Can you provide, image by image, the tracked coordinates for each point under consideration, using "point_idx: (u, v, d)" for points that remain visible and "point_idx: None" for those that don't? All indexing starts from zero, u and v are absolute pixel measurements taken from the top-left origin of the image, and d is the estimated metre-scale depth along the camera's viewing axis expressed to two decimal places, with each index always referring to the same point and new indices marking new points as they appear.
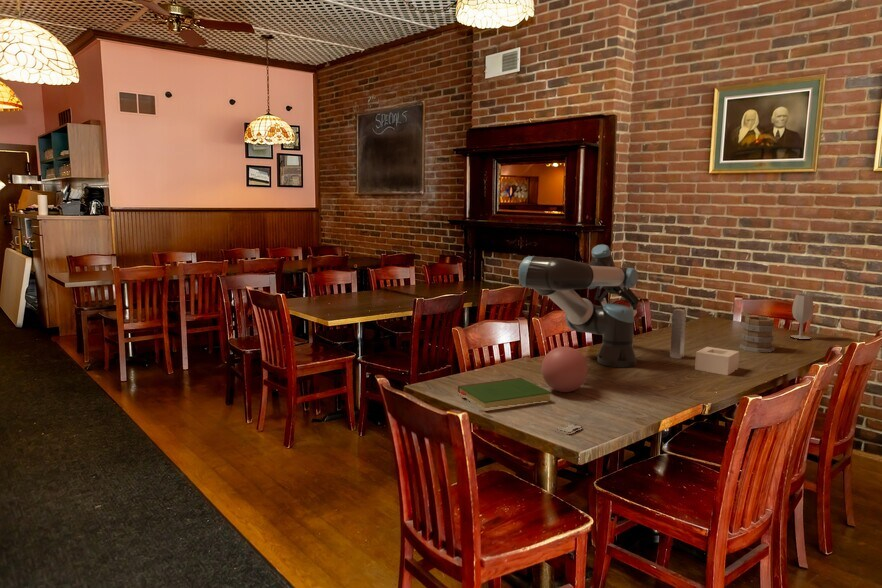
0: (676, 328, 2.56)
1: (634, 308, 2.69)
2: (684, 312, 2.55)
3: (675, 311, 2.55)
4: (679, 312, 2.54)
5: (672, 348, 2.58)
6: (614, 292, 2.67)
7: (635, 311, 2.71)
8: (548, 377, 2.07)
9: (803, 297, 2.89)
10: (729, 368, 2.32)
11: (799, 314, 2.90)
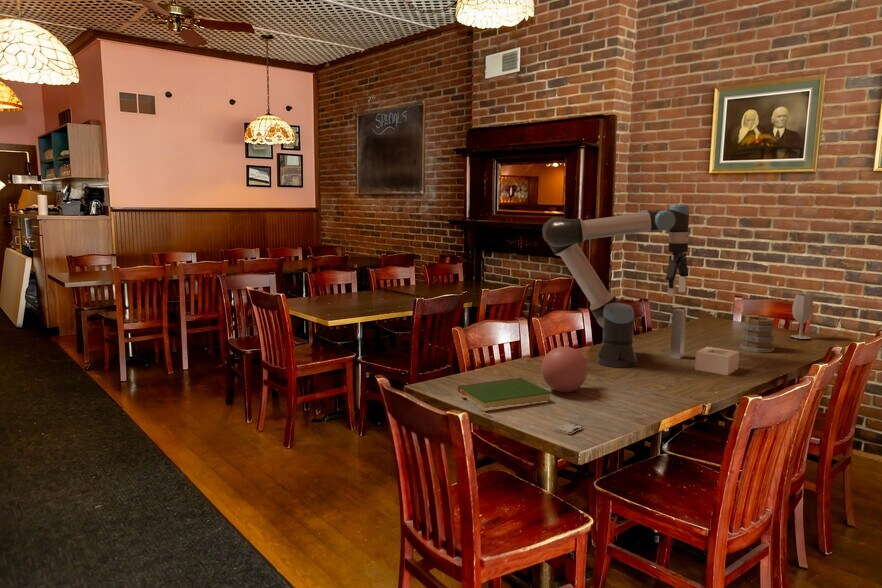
0: (676, 328, 2.56)
1: None
2: (684, 312, 2.55)
3: (675, 311, 2.55)
4: (679, 312, 2.54)
5: (672, 348, 2.58)
6: None
7: (671, 292, 2.51)
8: (548, 377, 2.07)
9: (803, 297, 2.89)
10: (729, 368, 2.32)
11: (799, 314, 2.90)
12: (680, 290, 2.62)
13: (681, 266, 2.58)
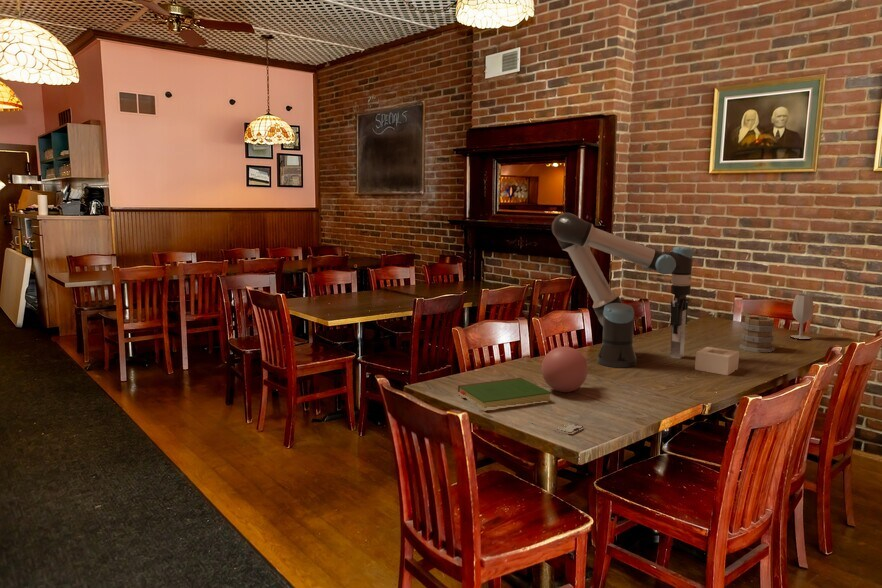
0: None
1: None
2: (684, 312, 2.55)
3: None
4: None
5: (672, 348, 2.58)
6: None
7: (676, 338, 2.55)
8: (548, 377, 2.07)
9: (803, 297, 2.89)
10: (729, 368, 2.32)
11: (799, 314, 2.90)
12: None
13: None
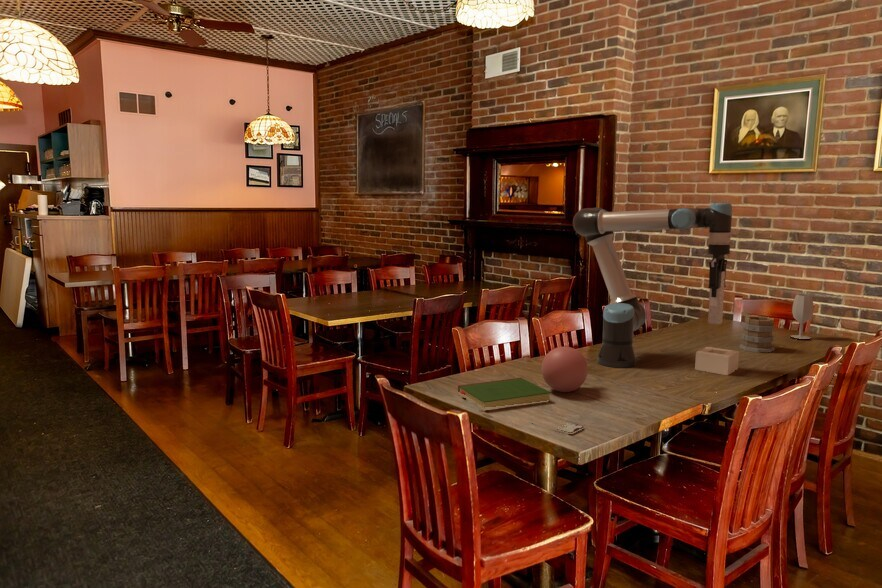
0: None
1: None
2: (723, 273, 2.36)
3: None
4: None
5: (710, 313, 2.38)
6: None
7: (714, 301, 2.36)
8: (548, 377, 2.07)
9: (803, 297, 2.89)
10: (729, 368, 2.32)
11: (799, 314, 2.90)
12: None
13: None
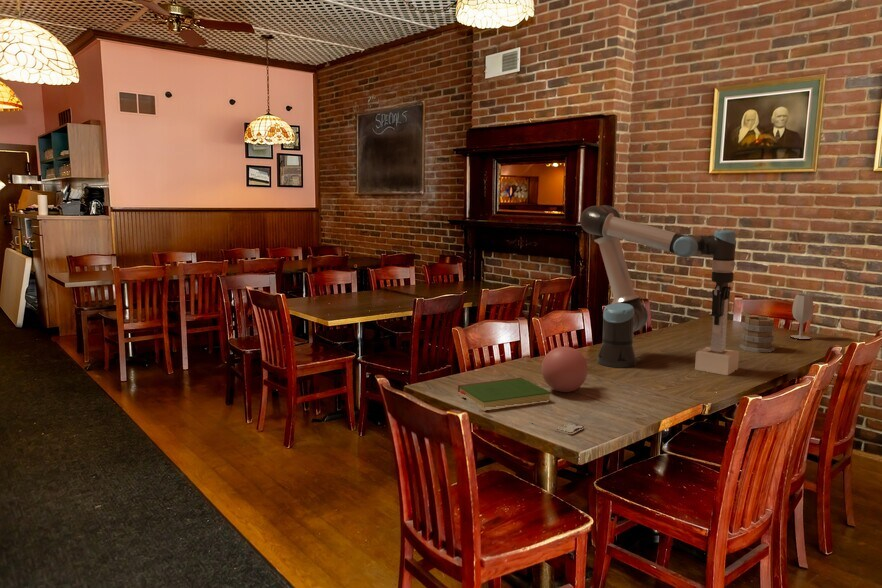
0: None
1: None
2: (726, 301, 2.35)
3: None
4: None
5: (713, 340, 2.37)
6: None
7: (717, 329, 2.35)
8: (548, 377, 2.07)
9: (803, 297, 2.89)
10: (729, 368, 2.32)
11: (799, 314, 2.90)
12: None
13: None
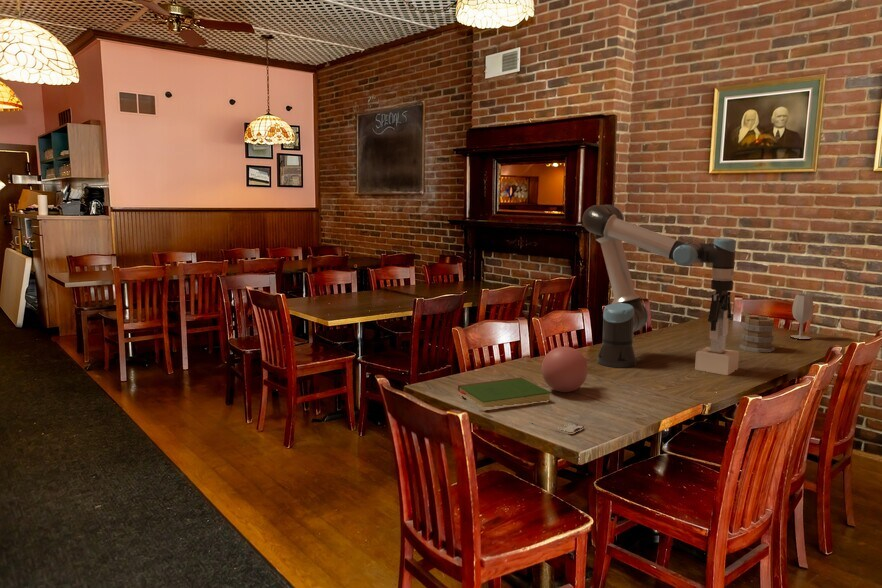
0: None
1: None
2: (725, 313, 2.35)
3: None
4: (720, 313, 2.34)
5: (712, 351, 2.38)
6: None
7: (714, 335, 2.33)
8: (548, 377, 2.07)
9: (803, 297, 2.89)
10: (729, 368, 2.32)
11: (799, 314, 2.90)
12: None
13: (724, 305, 2.38)
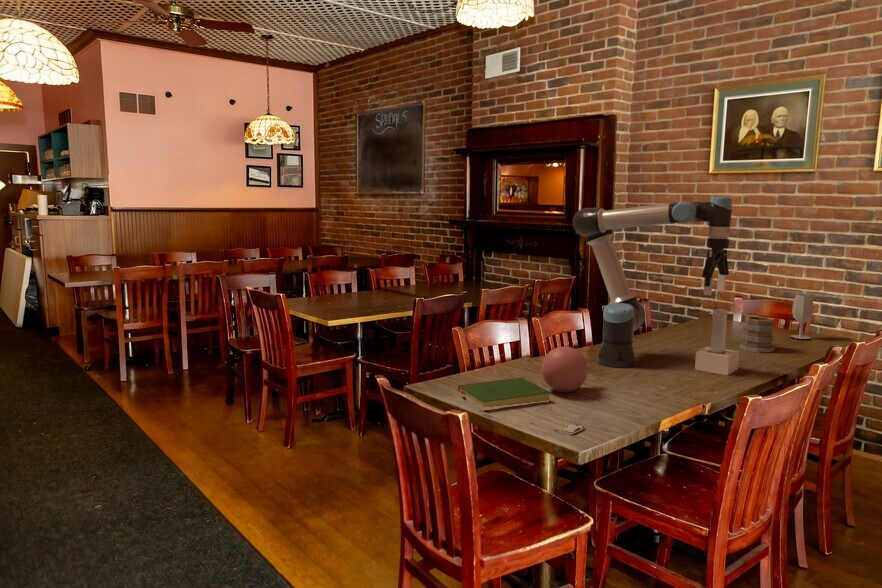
0: (717, 330, 2.36)
1: None
2: (725, 313, 2.35)
3: (716, 311, 2.35)
4: (720, 313, 2.34)
5: (712, 352, 2.38)
6: None
7: (708, 291, 2.33)
8: (548, 377, 2.07)
9: (803, 297, 2.89)
10: (729, 368, 2.32)
11: (799, 314, 2.90)
12: (719, 289, 2.44)
13: (721, 264, 2.39)
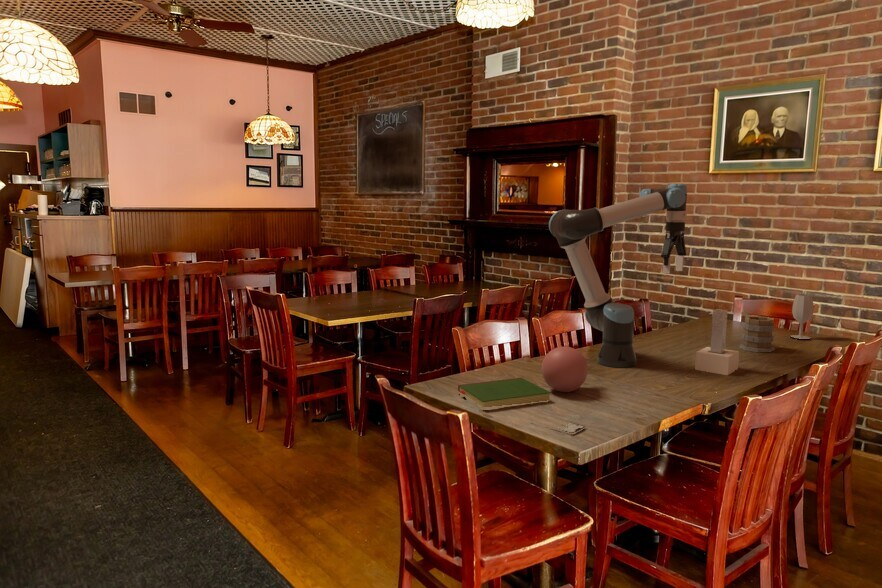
0: (717, 330, 2.36)
1: None
2: (725, 313, 2.35)
3: (716, 311, 2.35)
4: (720, 313, 2.34)
5: (712, 352, 2.38)
6: None
7: (666, 270, 2.57)
8: (548, 377, 2.07)
9: (803, 297, 2.89)
10: (729, 368, 2.32)
11: (799, 314, 2.90)
12: (677, 269, 2.67)
13: (678, 245, 2.63)
